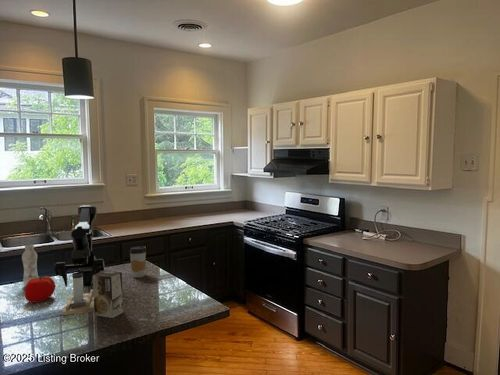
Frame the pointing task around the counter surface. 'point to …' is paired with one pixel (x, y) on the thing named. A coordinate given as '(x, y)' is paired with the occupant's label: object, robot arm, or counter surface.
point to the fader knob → (78, 290)
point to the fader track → (79, 309)
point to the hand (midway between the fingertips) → (78, 285)
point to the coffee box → (108, 294)
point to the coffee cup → (138, 261)
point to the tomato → (39, 289)
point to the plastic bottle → (29, 263)
